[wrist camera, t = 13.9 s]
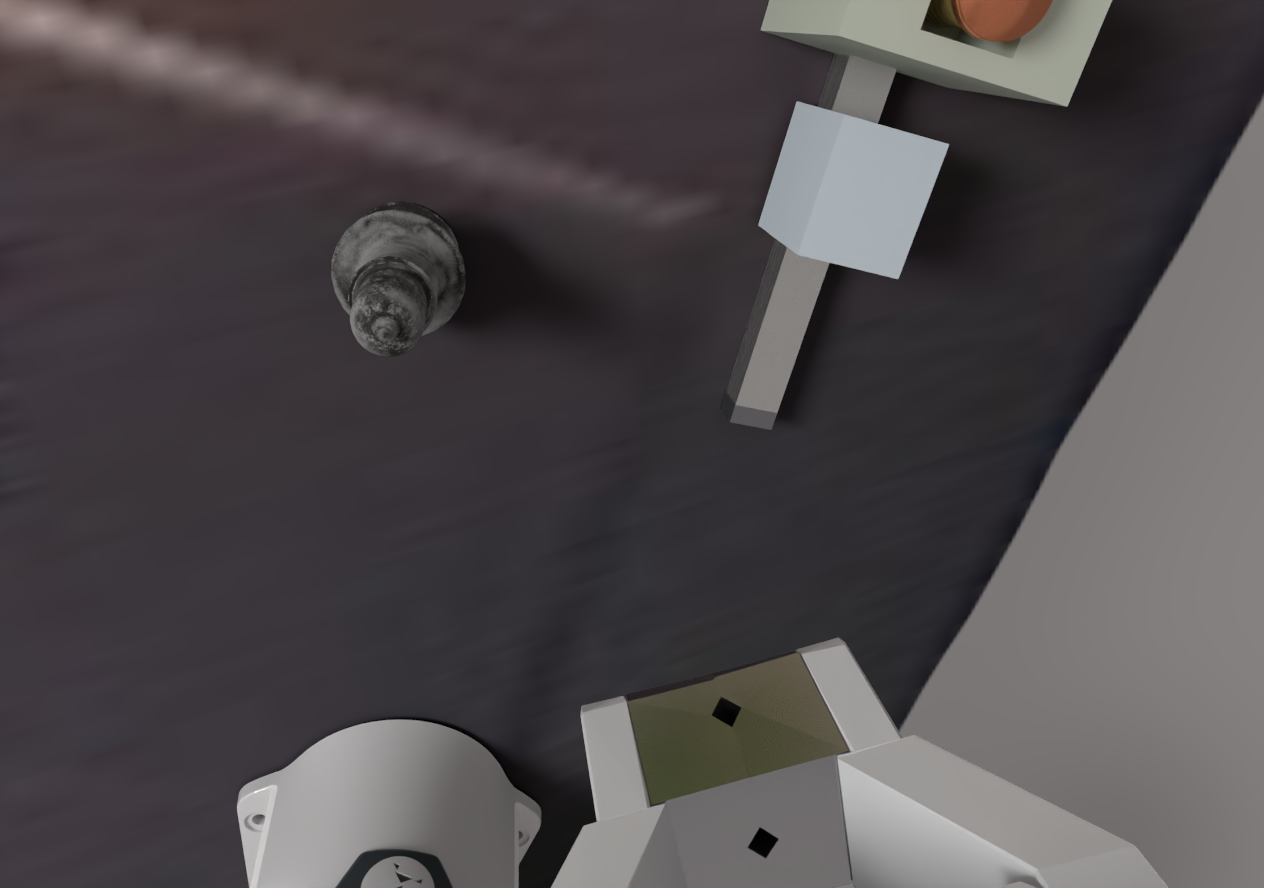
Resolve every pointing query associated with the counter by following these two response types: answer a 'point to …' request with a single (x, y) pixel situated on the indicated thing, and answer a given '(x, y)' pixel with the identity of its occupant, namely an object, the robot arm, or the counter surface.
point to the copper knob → (987, 17)
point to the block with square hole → (949, 44)
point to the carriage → (850, 190)
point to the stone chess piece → (398, 276)
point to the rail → (795, 271)
